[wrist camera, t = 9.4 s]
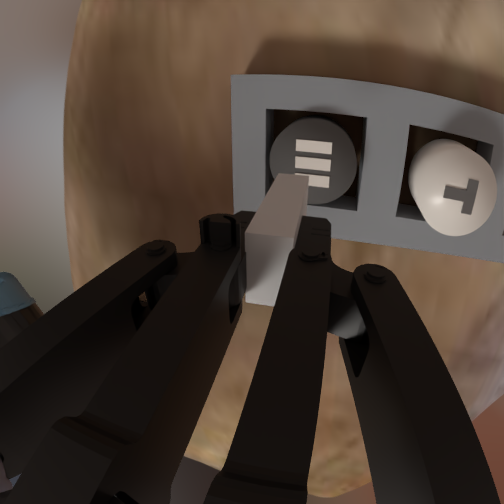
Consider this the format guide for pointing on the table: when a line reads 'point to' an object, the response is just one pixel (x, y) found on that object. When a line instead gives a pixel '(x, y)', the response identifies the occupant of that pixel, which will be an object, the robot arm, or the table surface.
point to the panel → (366, 156)
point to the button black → (316, 156)
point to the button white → (452, 187)
